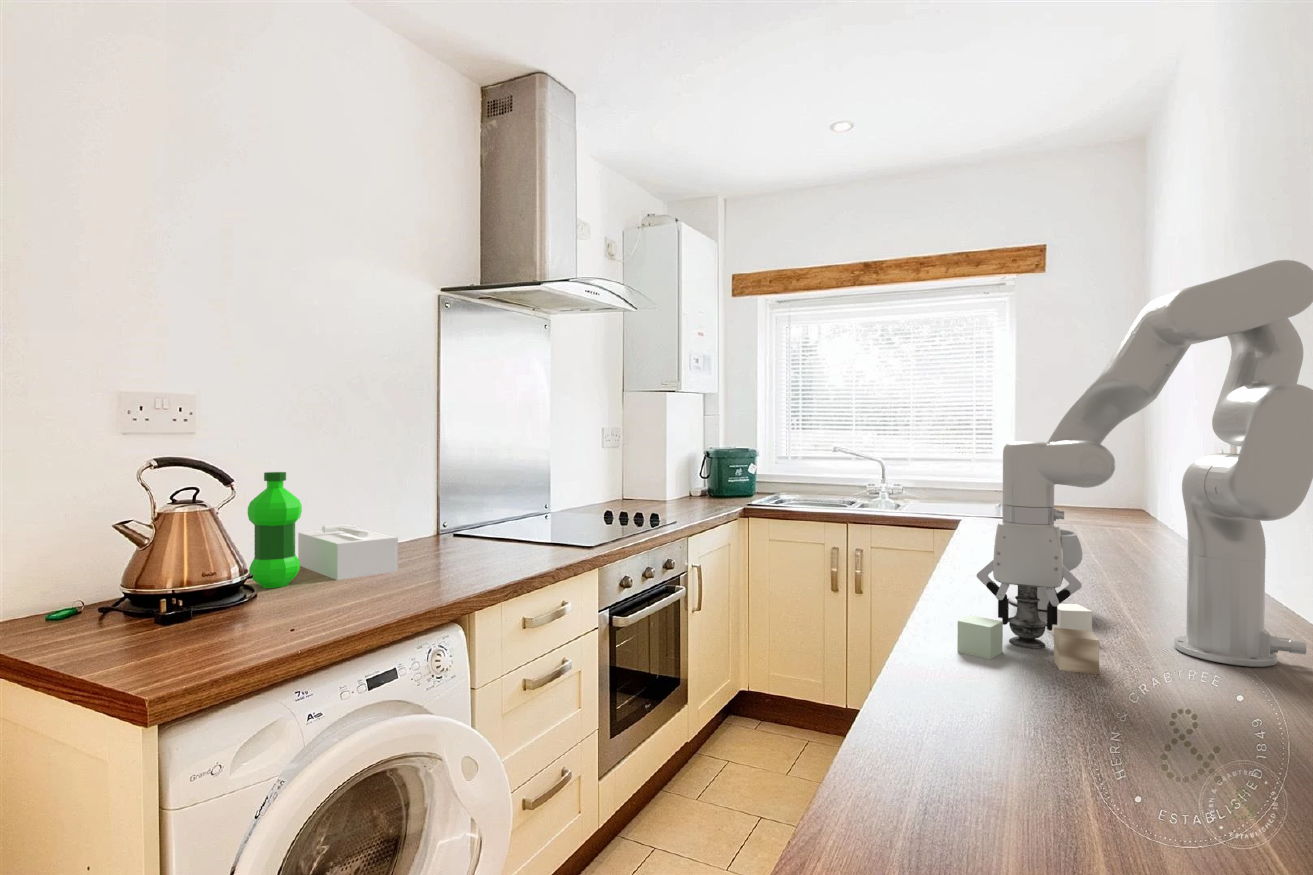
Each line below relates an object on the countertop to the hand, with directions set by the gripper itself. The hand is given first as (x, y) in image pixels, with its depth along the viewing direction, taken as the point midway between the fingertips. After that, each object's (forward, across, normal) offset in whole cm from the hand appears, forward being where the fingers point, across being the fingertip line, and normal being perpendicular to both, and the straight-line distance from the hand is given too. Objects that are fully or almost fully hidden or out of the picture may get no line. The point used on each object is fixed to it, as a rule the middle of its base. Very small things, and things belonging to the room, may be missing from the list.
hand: (1027, 624), depth 115 cm
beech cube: (+3, -7, +9) cm, 12 cm away
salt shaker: (+3, 0, 0) cm, 3 cm away
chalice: (+3, -1, -31) cm, 31 cm away
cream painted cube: (+3, -6, -9) cm, 11 cm away
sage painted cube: (+3, +6, +9) cm, 11 cm away
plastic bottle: (+3, +145, +41) cm, 151 cm away
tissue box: (+3, +149, +20) cm, 151 cm away
